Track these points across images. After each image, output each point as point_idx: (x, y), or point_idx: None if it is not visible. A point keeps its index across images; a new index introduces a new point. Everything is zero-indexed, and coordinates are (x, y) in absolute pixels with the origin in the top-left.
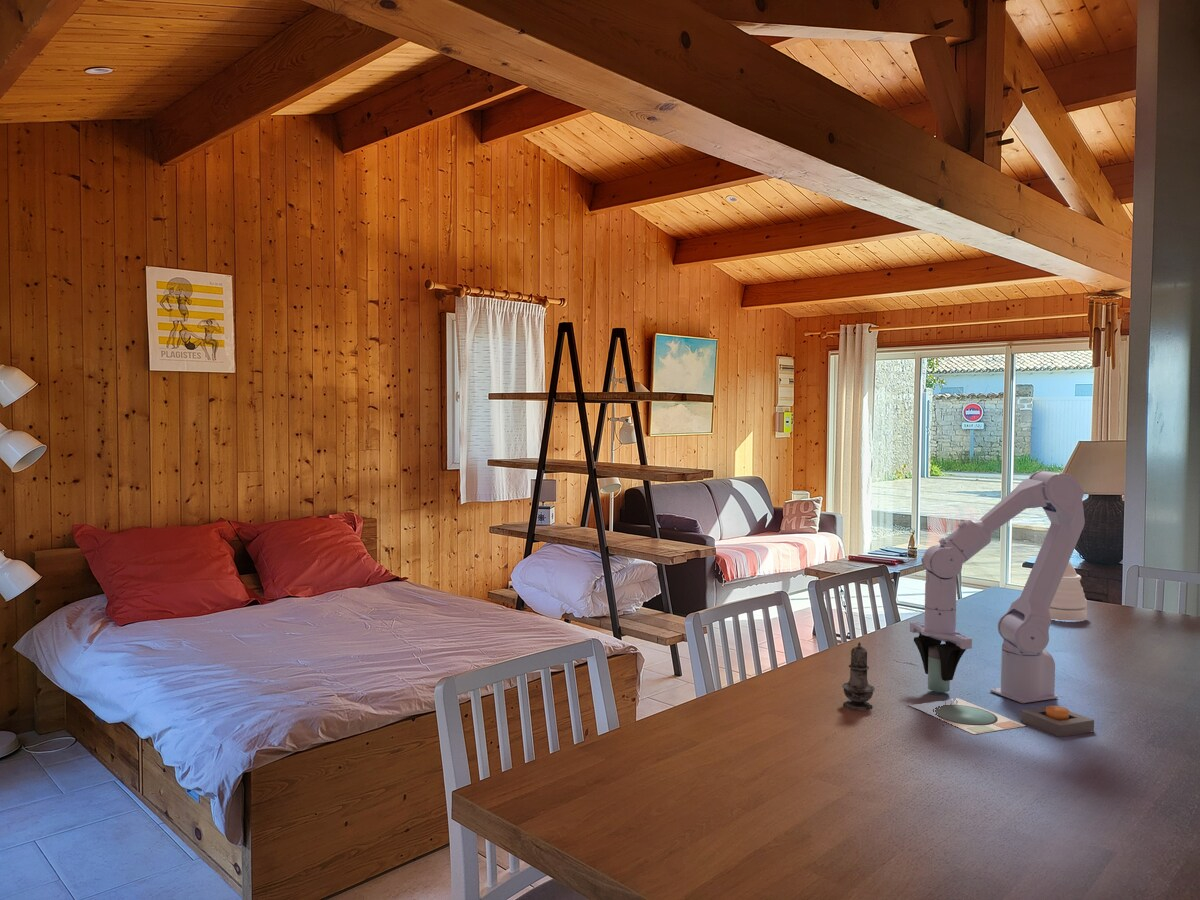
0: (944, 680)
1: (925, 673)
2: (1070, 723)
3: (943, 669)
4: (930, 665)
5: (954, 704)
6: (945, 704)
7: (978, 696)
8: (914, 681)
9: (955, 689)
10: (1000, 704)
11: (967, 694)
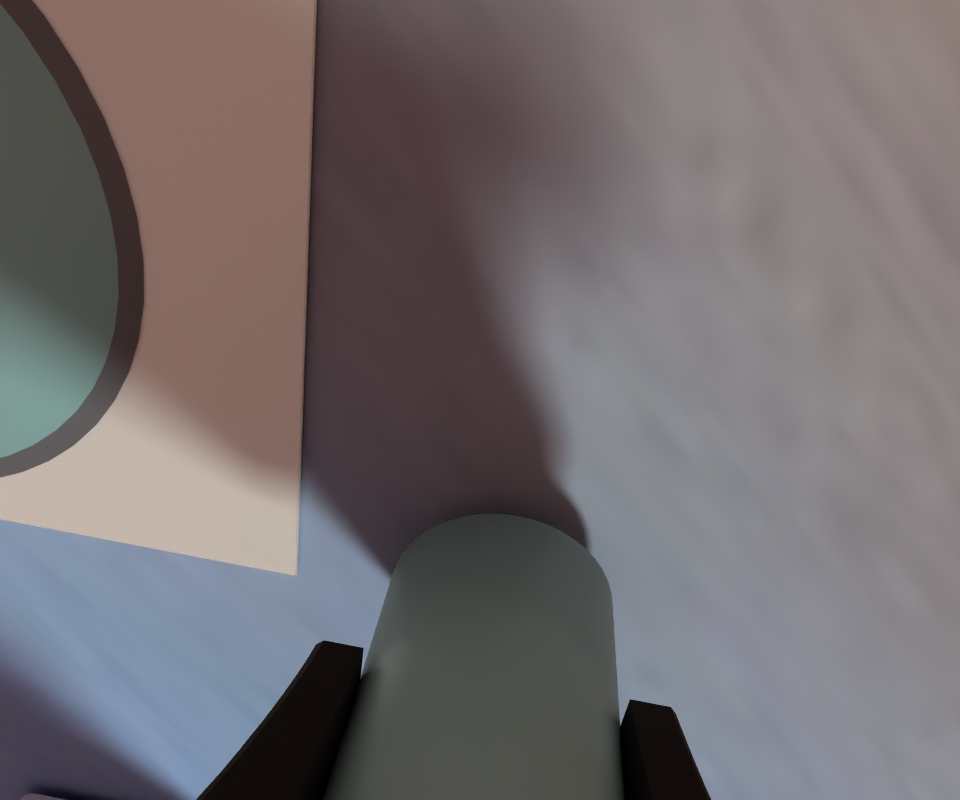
0: (322, 643)
1: (667, 707)
2: None
3: (254, 758)
4: (506, 784)
5: (140, 396)
6: (170, 320)
7: None
8: (886, 682)
9: None
10: (64, 692)
11: None
